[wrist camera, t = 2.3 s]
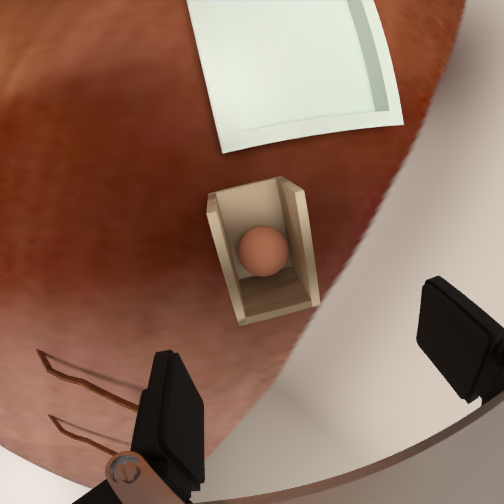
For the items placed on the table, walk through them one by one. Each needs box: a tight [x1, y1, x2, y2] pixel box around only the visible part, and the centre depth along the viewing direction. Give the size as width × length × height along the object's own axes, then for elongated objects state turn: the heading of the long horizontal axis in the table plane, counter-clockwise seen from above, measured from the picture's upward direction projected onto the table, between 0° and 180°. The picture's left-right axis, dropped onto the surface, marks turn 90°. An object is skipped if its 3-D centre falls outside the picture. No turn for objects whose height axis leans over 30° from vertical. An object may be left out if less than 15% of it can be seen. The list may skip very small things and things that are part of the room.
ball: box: [238, 226, 288, 277], centre depth 19 cm, size 3×3×3 cm
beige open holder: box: [206, 176, 320, 326], centre depth 18 cm, size 7×5×5 cm
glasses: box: [37, 349, 139, 456], centre depth 24 cm, size 13×13×5 cm
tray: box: [186, 0, 404, 154], centre depth 14 cm, size 18×12×2 cm, turn 12°
